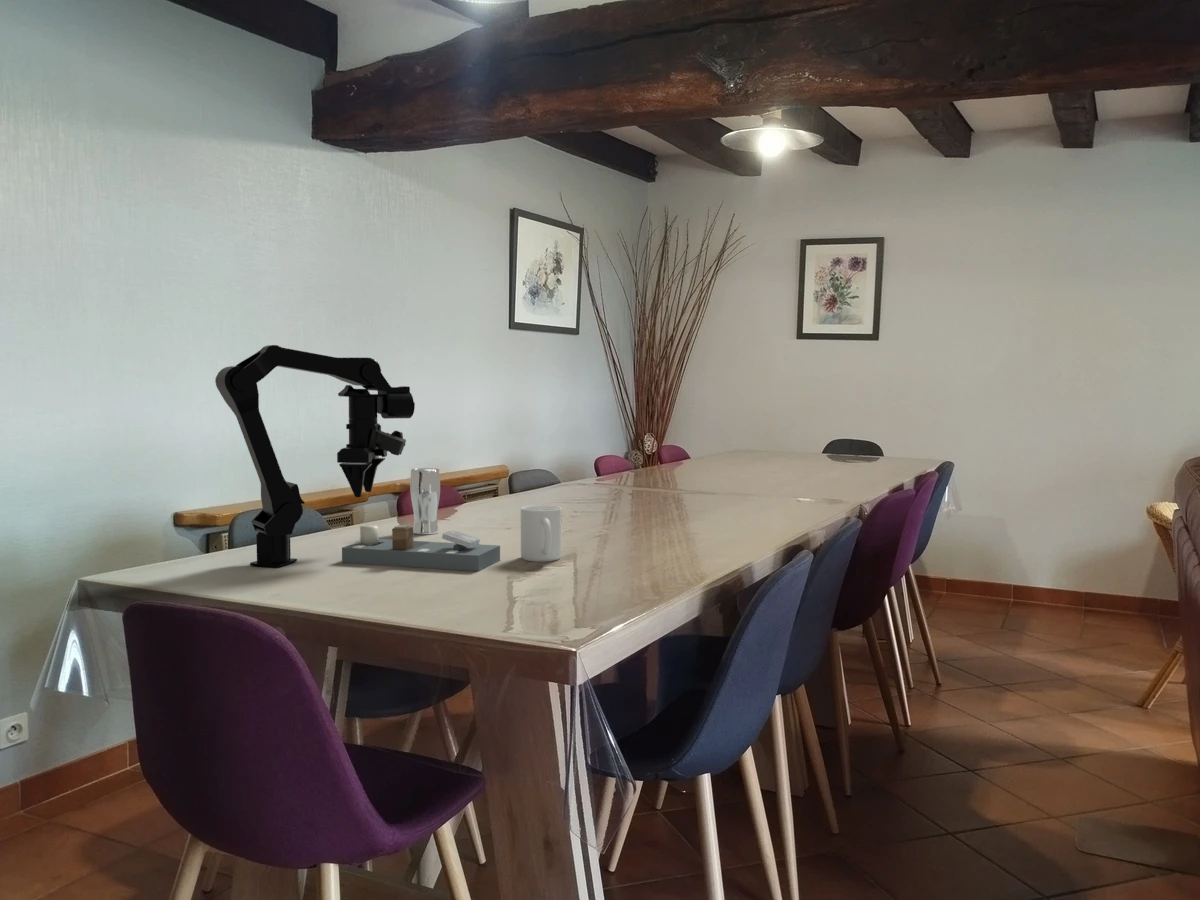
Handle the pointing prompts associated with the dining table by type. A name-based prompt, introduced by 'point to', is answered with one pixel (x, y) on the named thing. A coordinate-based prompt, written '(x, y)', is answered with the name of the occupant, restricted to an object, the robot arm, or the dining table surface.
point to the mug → (541, 533)
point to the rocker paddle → (460, 538)
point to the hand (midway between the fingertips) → (363, 494)
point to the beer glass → (425, 500)
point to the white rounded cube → (369, 535)
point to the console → (424, 555)
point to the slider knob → (402, 537)
